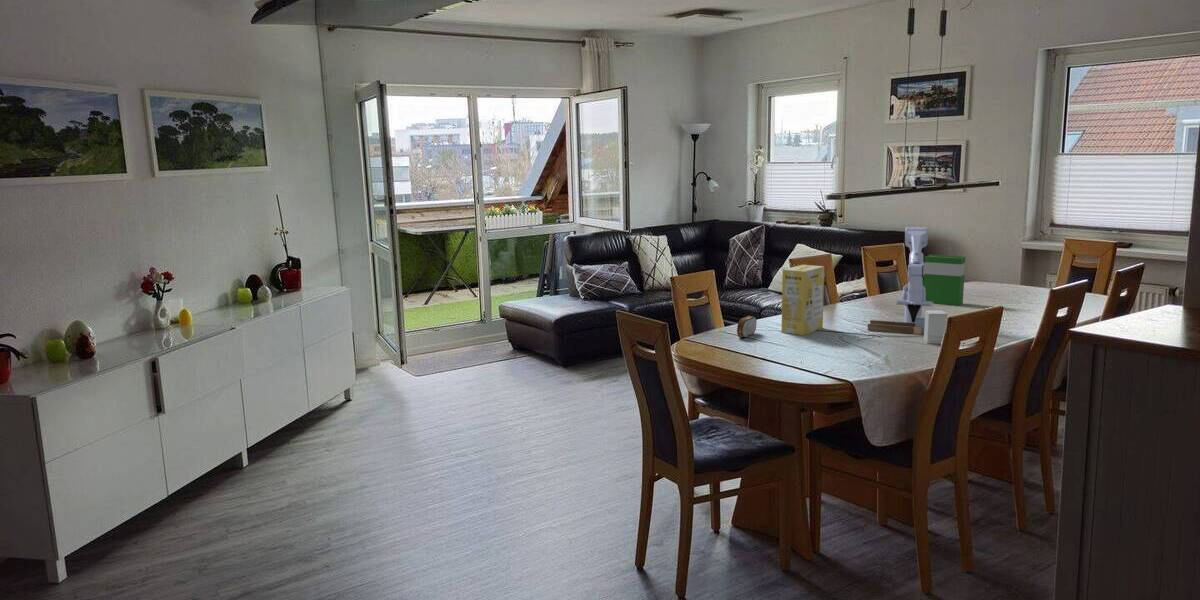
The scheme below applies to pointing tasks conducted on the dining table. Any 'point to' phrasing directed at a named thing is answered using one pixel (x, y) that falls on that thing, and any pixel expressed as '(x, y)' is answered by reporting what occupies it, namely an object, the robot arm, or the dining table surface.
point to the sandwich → (746, 326)
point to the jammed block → (920, 323)
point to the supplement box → (934, 326)
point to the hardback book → (944, 279)
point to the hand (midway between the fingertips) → (913, 321)
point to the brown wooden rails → (894, 327)
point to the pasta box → (802, 299)
